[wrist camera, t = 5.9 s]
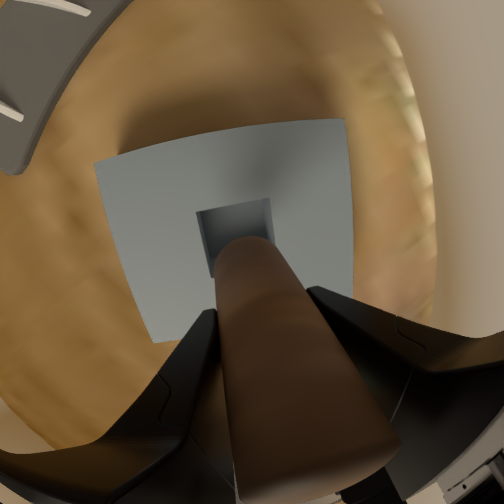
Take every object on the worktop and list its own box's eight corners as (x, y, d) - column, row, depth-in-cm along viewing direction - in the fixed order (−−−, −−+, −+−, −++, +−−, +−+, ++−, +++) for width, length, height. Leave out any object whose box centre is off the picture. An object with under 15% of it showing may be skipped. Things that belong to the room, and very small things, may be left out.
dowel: (279, 229, 11) (422, 412, 3) (286, 292, 12) (381, 474, 4) (207, 244, 11) (219, 478, 3) (221, 306, 12) (253, 512, 4)
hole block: (317, 122, 17) (344, 118, 13) (330, 275, 22) (352, 300, 18) (116, 159, 16) (93, 163, 12) (160, 311, 20) (153, 343, 17)
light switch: (33, -44, 3) (144, -34, 8) (45, -33, 6) (151, -13, 11) (-66, 122, 7) (3, 186, 12) (-47, 120, 10) (26, 179, 15)
